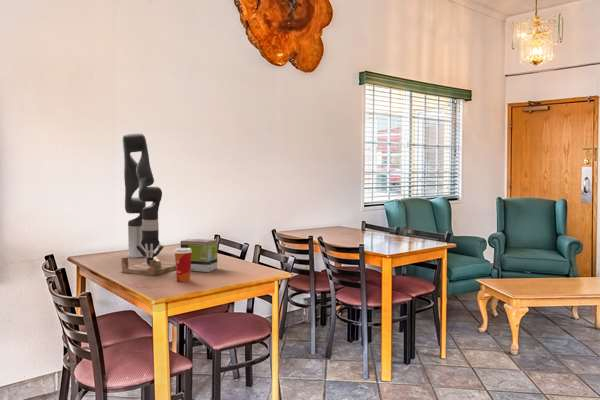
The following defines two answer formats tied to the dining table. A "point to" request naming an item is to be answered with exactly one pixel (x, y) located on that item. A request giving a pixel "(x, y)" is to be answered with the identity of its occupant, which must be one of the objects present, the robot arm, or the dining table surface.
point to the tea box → (202, 253)
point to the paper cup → (183, 264)
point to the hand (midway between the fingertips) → (150, 265)
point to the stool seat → (147, 267)
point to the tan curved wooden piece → (157, 262)
